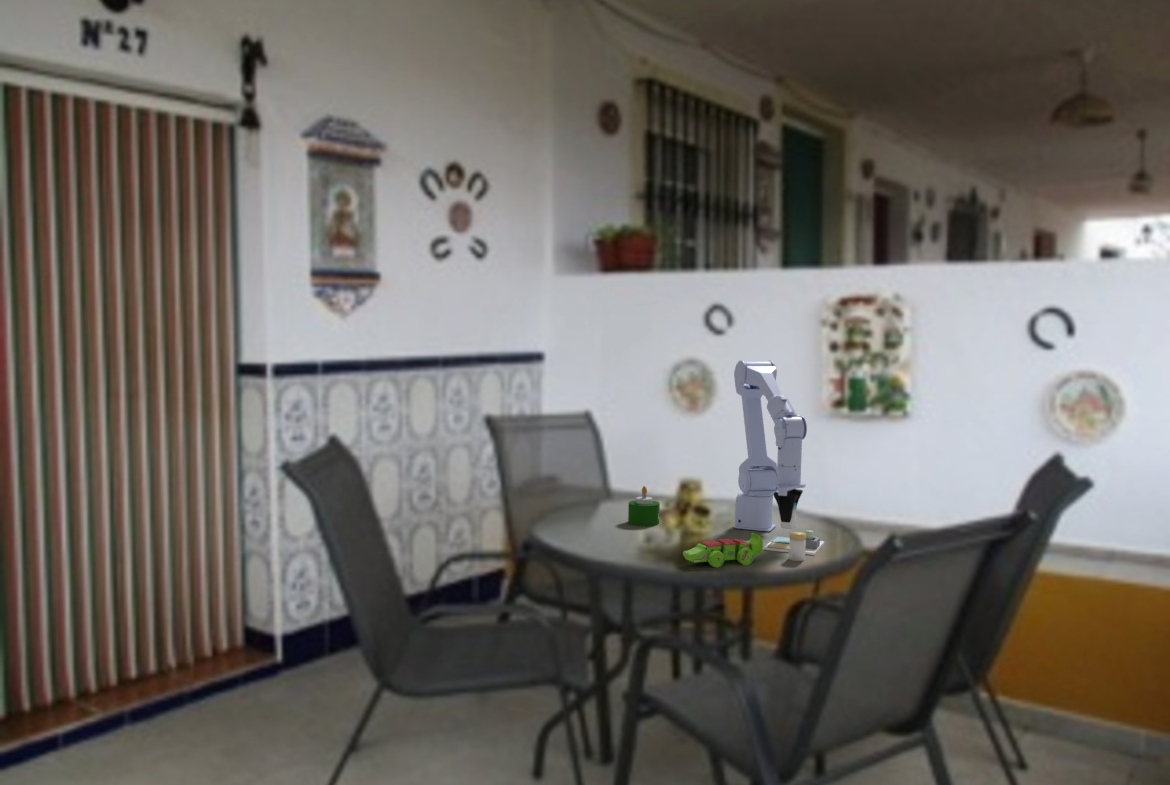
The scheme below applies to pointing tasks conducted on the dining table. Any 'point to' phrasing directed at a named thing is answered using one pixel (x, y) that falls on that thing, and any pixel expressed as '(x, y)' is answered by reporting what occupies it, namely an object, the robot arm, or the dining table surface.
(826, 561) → the dining table surface
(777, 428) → the robot arm
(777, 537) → the picture board
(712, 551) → the toy crocodile
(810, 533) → the button
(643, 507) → the candle
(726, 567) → the dining table surface
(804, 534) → the jar with tan lid
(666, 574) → the dining table surface
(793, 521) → the jar with teal lid
